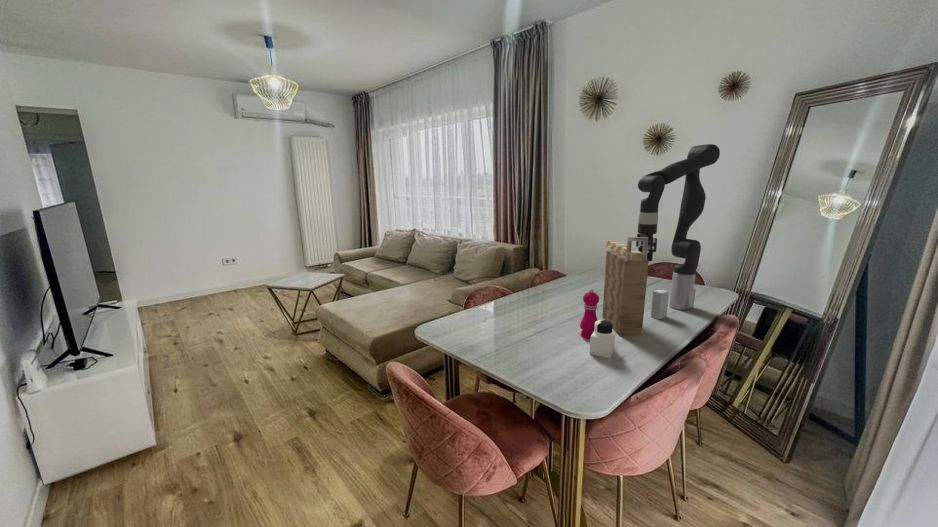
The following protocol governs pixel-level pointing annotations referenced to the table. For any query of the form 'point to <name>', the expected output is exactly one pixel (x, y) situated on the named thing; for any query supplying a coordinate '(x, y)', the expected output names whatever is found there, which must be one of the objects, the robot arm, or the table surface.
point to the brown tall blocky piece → (625, 290)
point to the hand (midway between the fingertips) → (644, 258)
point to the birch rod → (624, 250)
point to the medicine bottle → (602, 339)
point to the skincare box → (659, 304)
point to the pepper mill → (589, 314)
